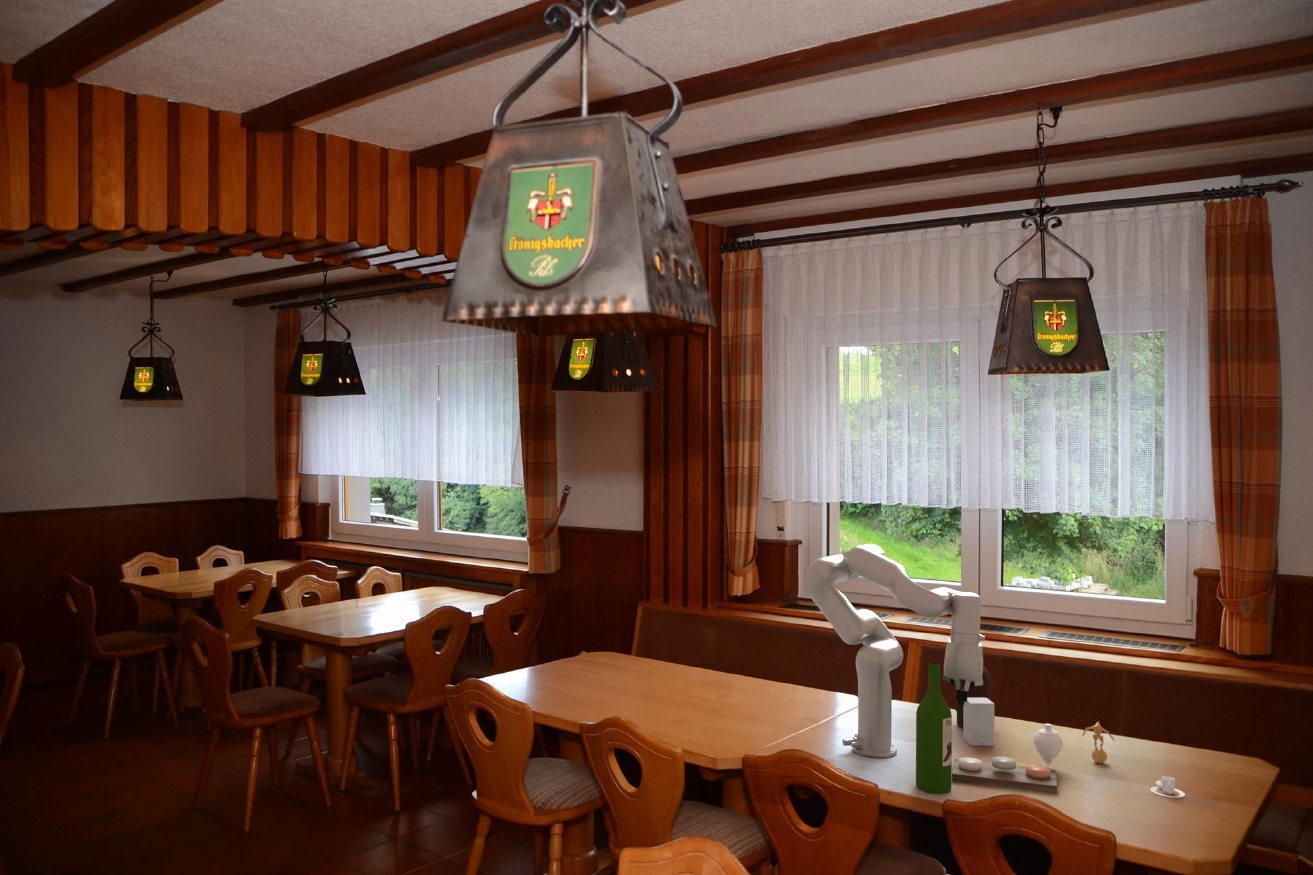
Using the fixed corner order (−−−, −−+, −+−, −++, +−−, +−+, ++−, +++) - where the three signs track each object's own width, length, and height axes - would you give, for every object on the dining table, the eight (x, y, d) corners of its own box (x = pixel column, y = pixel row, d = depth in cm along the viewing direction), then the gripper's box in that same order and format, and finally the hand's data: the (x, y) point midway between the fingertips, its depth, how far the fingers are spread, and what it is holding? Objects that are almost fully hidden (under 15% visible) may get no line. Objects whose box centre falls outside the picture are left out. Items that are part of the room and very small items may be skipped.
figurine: (1116, 763, 271) (1116, 721, 271) (1112, 769, 266) (1112, 726, 266) (1085, 758, 276) (1085, 716, 276) (1080, 763, 271) (1080, 721, 271)
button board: (1057, 793, 247) (1057, 786, 247) (951, 781, 256) (951, 773, 256) (1054, 777, 259) (1054, 770, 260) (954, 765, 268) (954, 758, 268)
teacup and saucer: (1155, 785, 255) (1155, 769, 255) (1188, 792, 250) (1188, 776, 250) (1147, 794, 249) (1147, 778, 249) (1181, 801, 244) (1181, 785, 244)
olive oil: (996, 727, 306) (997, 648, 306) (976, 732, 299) (977, 652, 300) (967, 719, 314) (968, 642, 314) (947, 724, 308) (948, 646, 308)
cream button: (967, 771, 257) (967, 765, 257) (954, 764, 263) (954, 758, 263) (986, 769, 259) (986, 763, 259) (973, 762, 264) (973, 756, 264)
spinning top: (1033, 770, 265) (1033, 726, 265) (1032, 761, 273) (1033, 719, 273) (1063, 773, 263) (1063, 729, 263) (1062, 764, 270) (1062, 722, 270)
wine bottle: (946, 796, 245) (946, 668, 245) (911, 789, 249) (912, 664, 250) (955, 786, 252) (956, 662, 252) (921, 779, 257) (922, 657, 257)
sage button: (1001, 770, 254) (1001, 764, 254) (987, 763, 260) (987, 757, 260) (1020, 768, 256) (1020, 762, 256) (1006, 761, 262) (1006, 755, 262)
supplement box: (995, 746, 286) (995, 703, 287) (970, 745, 287) (970, 703, 287) (987, 738, 294) (987, 697, 294) (962, 738, 294) (962, 696, 294)
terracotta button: (1035, 779, 251) (1035, 773, 251) (1020, 771, 257) (1020, 765, 257) (1055, 777, 253) (1055, 771, 253) (1040, 770, 259) (1040, 764, 259)
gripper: (994, 638, 266) (990, 704, 266) (938, 631, 271) (934, 696, 272) (993, 644, 259) (989, 711, 259) (935, 637, 264) (931, 703, 265)
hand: (961, 703), depth 265 cm, fingers closed
